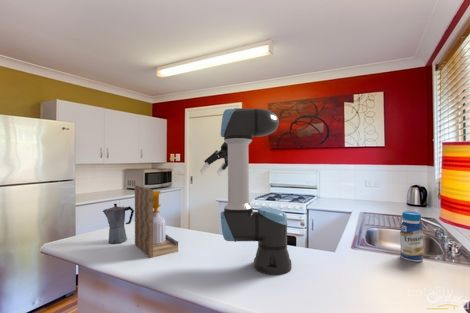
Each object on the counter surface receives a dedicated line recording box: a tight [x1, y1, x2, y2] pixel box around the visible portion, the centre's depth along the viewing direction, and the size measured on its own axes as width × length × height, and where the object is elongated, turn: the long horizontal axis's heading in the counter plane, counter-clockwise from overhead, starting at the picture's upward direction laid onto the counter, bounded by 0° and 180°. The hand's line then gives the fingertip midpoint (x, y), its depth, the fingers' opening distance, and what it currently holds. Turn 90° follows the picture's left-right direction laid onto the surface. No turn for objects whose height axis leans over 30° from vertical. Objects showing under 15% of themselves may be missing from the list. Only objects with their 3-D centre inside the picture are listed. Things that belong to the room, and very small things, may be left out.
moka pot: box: [102, 203, 135, 245], centre depth 141 cm, size 10×15×20 cm, turn 107°
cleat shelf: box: [134, 184, 179, 259], centre depth 130 cm, size 22×14×30 cm, turn 37°
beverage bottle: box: [399, 210, 424, 263], centre depth 116 cm, size 8×8×20 cm
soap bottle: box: [153, 190, 167, 244], centre depth 131 cm, size 9×9×25 cm
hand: (209, 173), depth 142 cm, fingers open, 13 cm apart
